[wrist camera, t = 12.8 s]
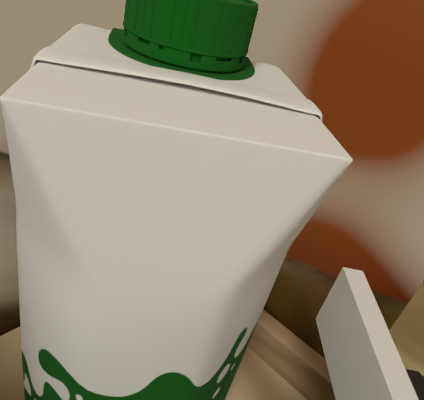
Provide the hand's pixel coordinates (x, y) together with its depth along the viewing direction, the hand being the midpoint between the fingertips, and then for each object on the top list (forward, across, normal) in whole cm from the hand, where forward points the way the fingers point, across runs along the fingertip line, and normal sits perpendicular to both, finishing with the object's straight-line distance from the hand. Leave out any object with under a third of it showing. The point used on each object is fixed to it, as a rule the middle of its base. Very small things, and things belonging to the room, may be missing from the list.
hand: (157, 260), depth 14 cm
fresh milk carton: (+1, 0, -12) cm, 12 cm away
